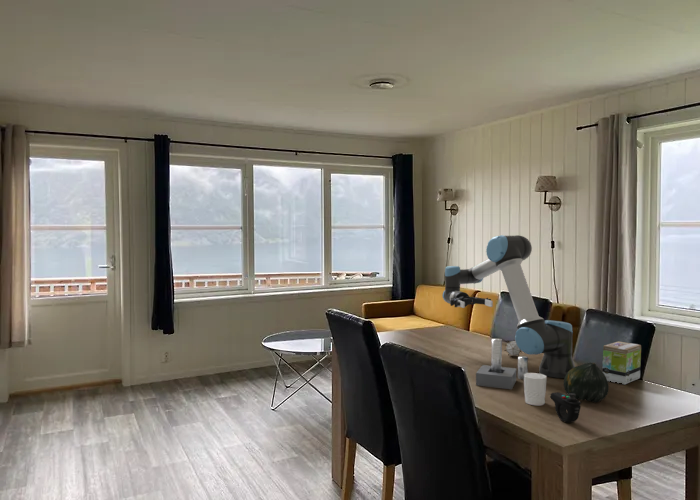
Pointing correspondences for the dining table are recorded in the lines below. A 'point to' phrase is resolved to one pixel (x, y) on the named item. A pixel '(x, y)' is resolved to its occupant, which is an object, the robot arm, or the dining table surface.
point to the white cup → (535, 388)
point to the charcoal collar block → (496, 377)
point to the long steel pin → (496, 355)
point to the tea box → (621, 362)
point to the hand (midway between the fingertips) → (477, 304)
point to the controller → (566, 406)
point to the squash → (586, 383)
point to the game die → (512, 348)
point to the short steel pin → (522, 366)
